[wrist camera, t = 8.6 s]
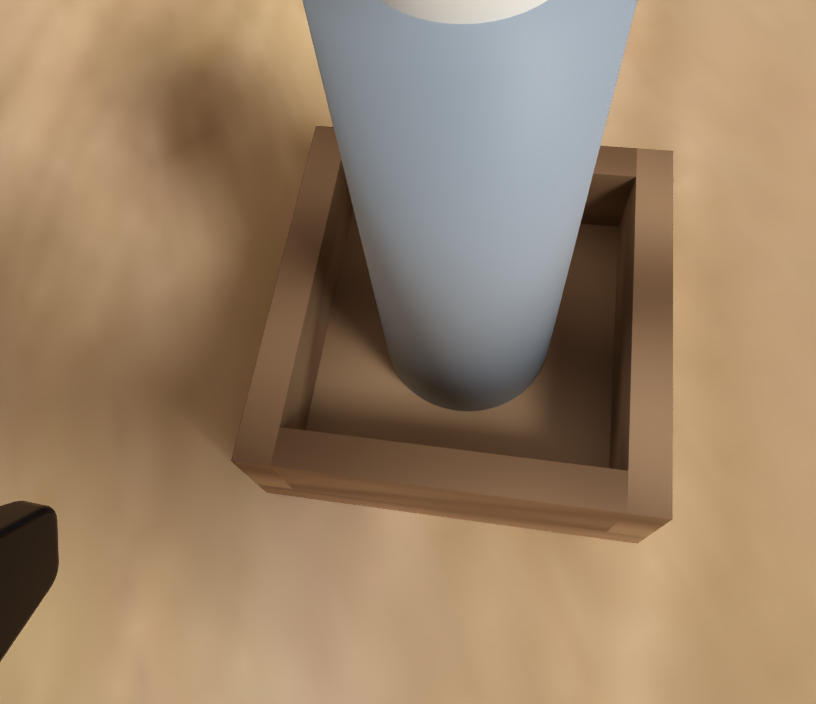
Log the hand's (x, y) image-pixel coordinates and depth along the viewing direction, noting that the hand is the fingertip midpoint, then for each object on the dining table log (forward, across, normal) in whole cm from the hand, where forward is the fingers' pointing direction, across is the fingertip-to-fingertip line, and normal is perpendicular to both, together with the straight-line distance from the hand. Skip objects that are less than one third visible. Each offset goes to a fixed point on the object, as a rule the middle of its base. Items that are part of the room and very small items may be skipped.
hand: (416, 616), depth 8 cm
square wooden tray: (+14, 0, +1) cm, 14 cm away
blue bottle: (+14, 0, +1) cm, 14 cm away
